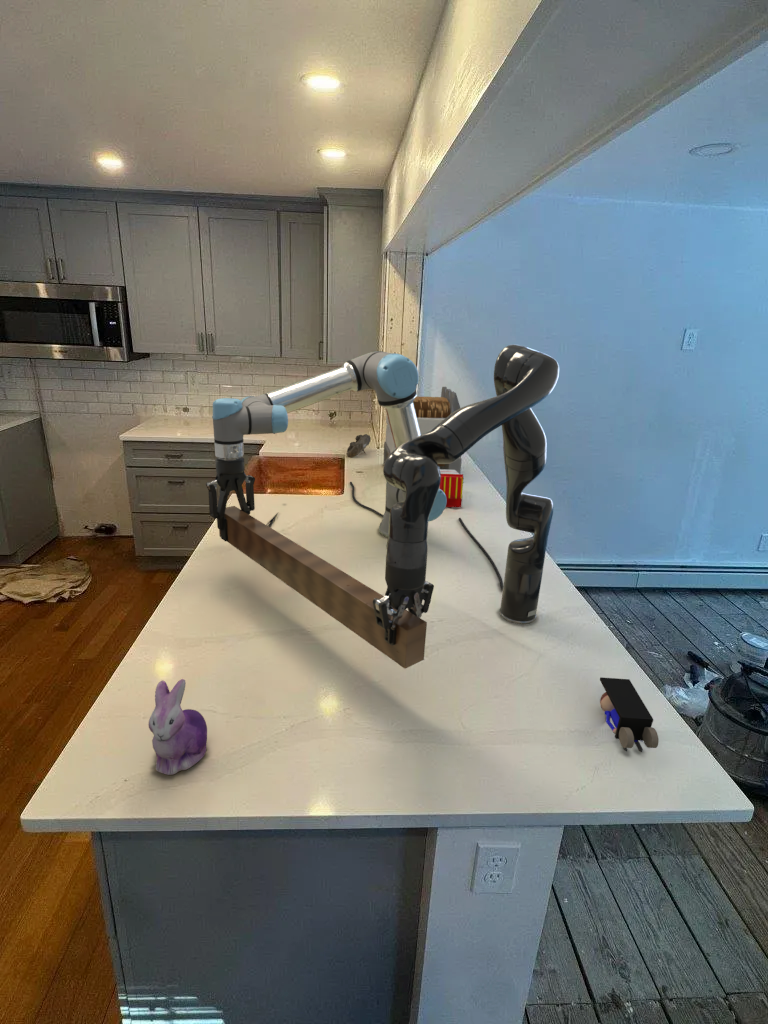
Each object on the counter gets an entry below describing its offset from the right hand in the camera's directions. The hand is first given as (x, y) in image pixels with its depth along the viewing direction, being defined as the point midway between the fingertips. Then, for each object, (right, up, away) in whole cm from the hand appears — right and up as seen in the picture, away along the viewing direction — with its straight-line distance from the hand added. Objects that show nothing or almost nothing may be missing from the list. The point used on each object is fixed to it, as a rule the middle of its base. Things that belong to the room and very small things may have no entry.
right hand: (401, 638), depth 110 cm
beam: (-23, +7, +26) cm, 35 cm away
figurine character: (+42, -18, -1) cm, 46 cm away
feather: (-43, +23, +101) cm, 112 cm away
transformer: (+14, +43, +165) cm, 171 cm away
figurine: (-38, -18, -11) cm, 44 cm away
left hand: (-46, +17, +51) cm, 70 cm away
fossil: (-17, +56, +197) cm, 206 cm away
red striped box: (+23, +31, +132) cm, 137 cm away
